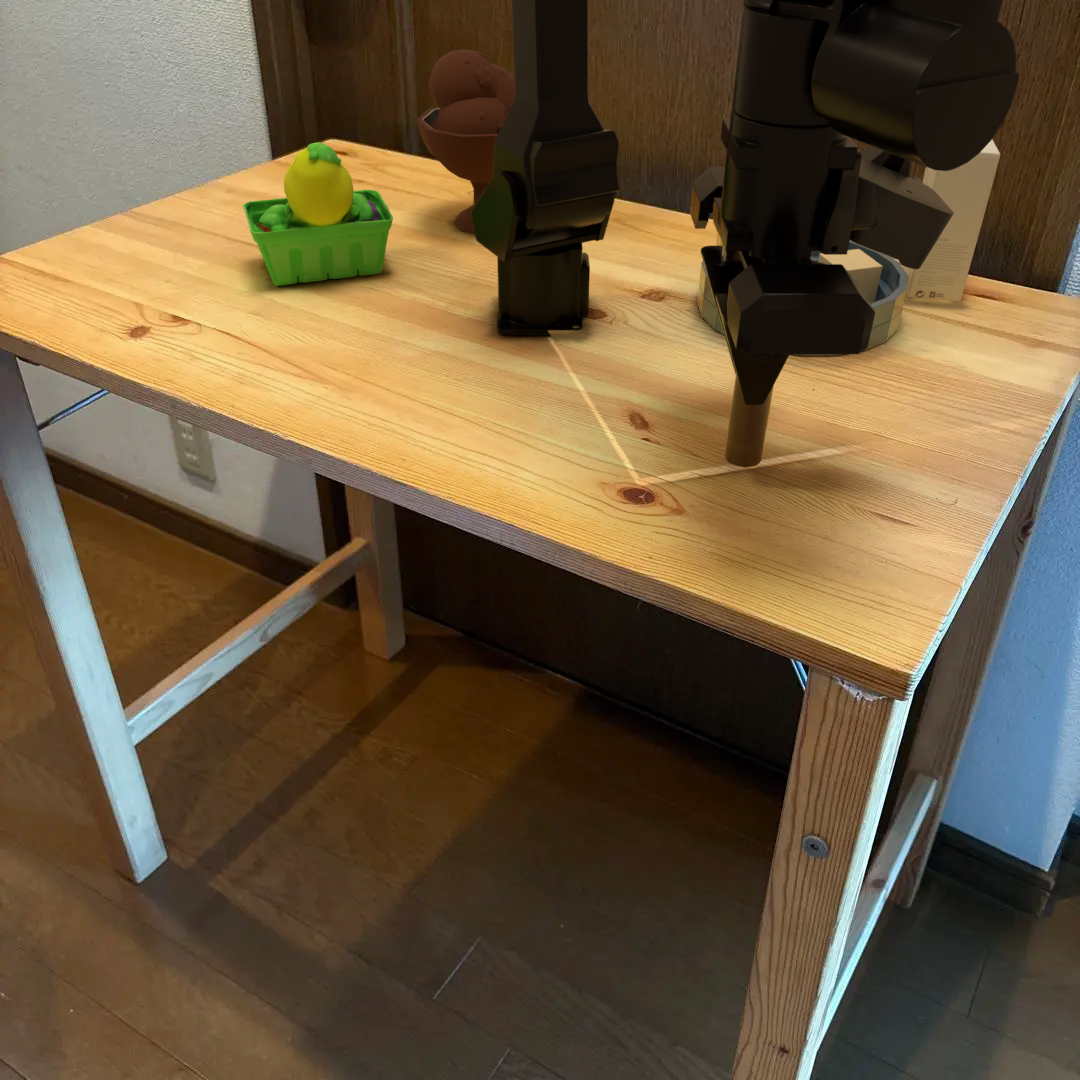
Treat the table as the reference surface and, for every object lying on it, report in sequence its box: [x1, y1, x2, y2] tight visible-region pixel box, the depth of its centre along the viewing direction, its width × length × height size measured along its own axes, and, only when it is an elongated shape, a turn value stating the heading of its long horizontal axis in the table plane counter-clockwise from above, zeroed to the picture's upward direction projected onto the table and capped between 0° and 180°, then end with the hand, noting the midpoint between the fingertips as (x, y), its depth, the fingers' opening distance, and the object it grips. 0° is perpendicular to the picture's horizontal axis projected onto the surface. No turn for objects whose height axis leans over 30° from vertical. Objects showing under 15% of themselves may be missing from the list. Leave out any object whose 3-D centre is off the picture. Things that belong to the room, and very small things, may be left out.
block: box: [818, 249, 882, 304], centre depth 80 cm, size 4×4×4 cm
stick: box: [724, 374, 775, 468], centre depth 59 cm, size 2×2×11 cm
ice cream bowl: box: [416, 48, 515, 235], centre depth 92 cm, size 11×11×15 cm
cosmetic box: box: [902, 139, 1001, 302], centre depth 81 cm, size 6×4×12 cm
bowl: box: [696, 240, 908, 357], centre depth 80 cm, size 15×15×4 cm
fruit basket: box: [242, 142, 394, 287], centre depth 84 cm, size 11×9×11 cm
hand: (750, 392), depth 60 cm, fingers closed on stick, 2 cm apart
